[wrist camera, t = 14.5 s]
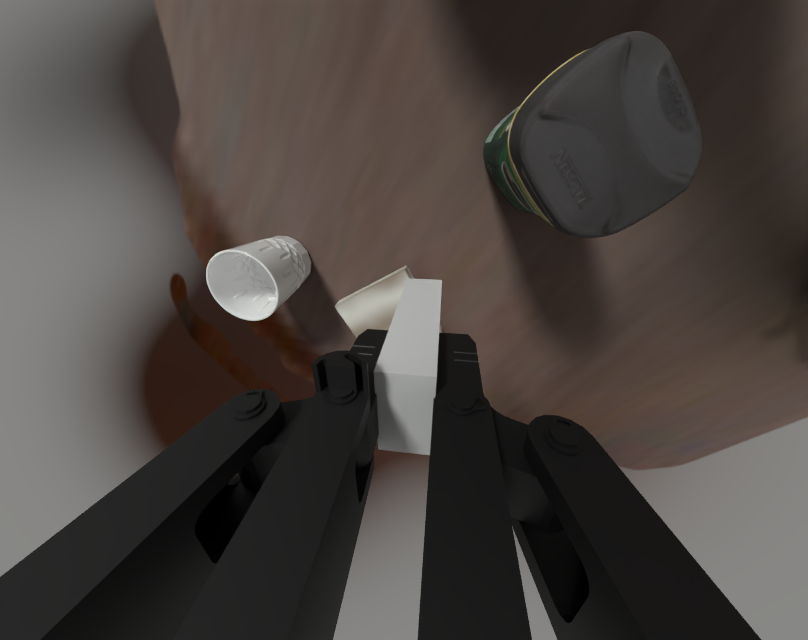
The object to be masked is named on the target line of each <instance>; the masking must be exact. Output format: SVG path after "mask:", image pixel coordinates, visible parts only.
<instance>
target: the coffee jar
mask: <svg viewBox="0 0 808 640" xmlns="http://www.w3.org/2000/svg"><path fill="white" fill-rule="evenodd" d="M702 146H703V141H702V133H701V127H700V125H699V122H698V119H697V116H696V113H695V109H694V106H693V103H692V100H691V97H690V95H689V92H688V89H687V87H686V85H685V82H684V80H683V78H682V76H681V74H680V72H679V70H678V68H677V66H676V64H675V62H674V60H673V58H672V55H671V54H670V52H669V51H668V49H667V47H666V46H665V45H664V44H663V43H662V42H661V40H660V39H658V38H657V37H655V36H654V35H652V34H649V33H646V32H642V31H631V32H626V33H622V34H619V35H616V36H613V37H610V38H608V39H606V40H604V41H602V42H600V43H599V44H597V45H596V46H594V47H592V48H590V49H587V50H585V51H583V52H581V53H579V54H577V55H576V56H574V57H572V58H571V59H569V60H568V61H566V62H565V63H564V64H562V65H561V66H559V67H558V68H557V69H556V70H554V71H553V72H552V73H551V74H550V75H548V76H547V77H546V78H545V79H544V80H543V81H542V82H541V83H540V84H539V85H538V86H537V87H536V88H535V89H534V90H533V91H532V92H531V93H530V94H529V95H528V97H527V98H526V99H525V100H524V101H523V103H522V104H521V105H520V106H518V107H517V108H516V109H514V110H513V111H512V112H510V113H509V114H508V115H507V116H506V117H505V118H503V119H502V120H501V121H500V122H499V123H498V124H497V126H496V127H495V128H494V129H493V130H492V131H491V133H490V134H489V136H488V138H487V140H486V142H485V145H484V152H483V155H484V161H485V164H486V166H487V169H488V171H489V173H490V175H491V177H492V179H493V180H494V182H495V184H496V185H497V187H498V188H499V190H500V191H501V193H502V194H503V195H504V197H505V198H506V199H507V200H508V201H509V202H510V203H511V204H512V205H513V206H514V207H515V208H517V209H519V210H521V211H524V212H529V213H534V214H537V215H539V216H540V217H541V218H543V219H544V220H545V221H547V222H548V223H549V224H550V225H552V226H553V227H554V228H556V229H557V230H559V231H560V232H563V233H565V234H569V235H573V236H577V237H581V238H597V237H603V236H608V235H611V234H614V233H617V232H619V231H621V230H623V229H625V228H627V227H629V226H631V225H633V224H635V223H637V222H638V221H640V220H642V219H644V218H645V217H647V216H649V215H650V214H652V213H653V212H655V211H657V210H658V209H660V208H661V207H663V206H664V205H666V204H667V203H669V202H670V201H671V200H673V199H674V198H675V197H677V196H678V195H679V194H681V193H682V192H683V191H685V190H686V189H687V187H688V186H689V183H690V182H691V180H692V179H693V177H694V175H695V173H696V171H697V169H698V166H699V162H700V159H701V155H702Z"/></svg>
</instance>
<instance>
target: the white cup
mask: <svg viewBox="0 0 808 640" xmlns="http://www.w3.org/2000/svg"><path fill="white" fill-rule="evenodd" d="M310 272H311V260H310V257H309V254H308V251H307V250H306V249H305V248H304V247H303V246H302V244H301V243H300V242H298V241H297V240H295V239H293V238H291V237H289V236H275V237H272V238H269V239H262V240H259V241H255V242H251V243H247V244H244V245H241V246H238V247H234V248H231V249H228V250H224V251H221V252H219V253H217V254H216V255H214V256H213V257H212V258H211V260H210V261H209V263H208V265H207V269H206V279H207V284H208V287H209V289H210V292H211V294H212V295H213V297H214V298H215V300H216V301H217V302H218V303H219V304H220V305H221V306H222V307H223V308H224V309H225V310H226V311H227V312H229V313H231V314H232V315H234V316H236V317H238V318H241V319H244V320H249V321H258V320H262V319H265V318H267V317H269V316H270V315H271V314H272V313H273V312H274V311H275V310H277V309H278V308H279V307H280V306H281V305H282V304H283V303H284V302H285V301H286V300H287V299H288V298H289V297H290V296H291V295H292V294H293V293H294V292H295V291H296V290H297V289H298V288H299V287H300V286H301V284H302V283H303V282H304V281H305V280H306V279H307V277H308V276H309V274H310Z"/></svg>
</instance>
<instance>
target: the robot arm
mask: <svg viewBox="0 0 808 640" xmlns="http://www.w3.org/2000/svg"><path fill="white" fill-rule="evenodd" d="M441 287H442V280H430V279H409V278H407V281H406V283H405V286H404V289H403V292H402V294H401V297H400V300H399V303H398V305H397V308H396V311H395V314H394V317H393V319H392V322H391V325H390V328H389V330H378V329H367V330H365V331H364V332H363V333H361V334H360V335H358V337H357V339H356V341H355V342H354V344H353V346H352V348H351V350H350V351H335V352H331V353H327V354H325V355H323V356H321V357H319V358H317V359H316V360H315V361H314V362H313V363H312V364H311V365H312V370H313V376H314V381H315V387H316V393H315V395H314V397H312V398H308V399H303V400H296V401H290V402H283V403H281V401H280V398H279V396H278V394H277V393H275V392H273V391H272V390H267V389H255V390H249V391H247V392H244V393H241V394H239V395H237V396H235V397H233V398H232V399H230V400H228V401H227V402H226V403H225V404H223V405H222V406H221V407H219V408H218V409H217V410H216V411H214V412H213V413H212V414H210V415H209V416H208V417H206V418H205V419H204V420H203V421H201V422H200V423H199V424H197V425H196V426H195V427H194V428H192V429H191V430H190V431H188V432H187V433H186V434H185V435H183V436H182V437H181V438H179V439H178V440H177V441H175V442H174V443H173V444H172V445H170V446H169V447H168V448H166V449H165V450H164V451H162V452H161V453H160V454H159V455H157V456H156V457H155V458H154V459H152V460H151V461H150V462H148V463H147V464H146V465H144V466H143V467H142V468H141V469H139V470H138V471H137V472H136V473H134V474H133V475H131V476H130V477H129V478H128V479H126V480H125V481H124V482H122V483H121V484H120V485H119V486H117V487H116V488H115V489H114V490H112V491H111V492H109V493H108V494H107V495H106V496H104V497H103V498H102V499H100V500H99V501H98V502H97V503H95V504H94V505H93V506H91V507H90V508H89V509H88V510H86V511H85V512H84V513H82V514H81V515H80V516H78V517H77V518H76V519H75V520H73V521H72V522H71V523H69V524H68V525H67V526H66V527H64V528H63V529H62V530H60V531H59V532H58V533H56V534H55V535H54V536H53V537H51V538H50V539H49V540H48V541H46V542H45V543H44V544H42V545H41V546H40V547H38V548H37V549H36V550H34V551H33V552H32V553H31V554H29V555H28V556H27V557H25V558H24V559H23V560H22V561H20V562H19V563H18V564H16V565H15V566H14V567H13V568H11V569H10V570H9V571H8V572H6V573H5V574H4V575H2V576H1V577H0V640H333V637H334V632H335V628H336V624H337V620H338V616H339V612H340V608H341V604H342V599H343V595H344V591H345V587H346V583H347V579H348V574H349V570H350V566H351V562H352V558H353V553H354V549H355V545H356V541H357V537H358V533H359V528H360V525H361V520H362V516H363V512H364V507H365V504H366V500H367V496H368V491H369V487H370V483H371V479H372V475H373V470H374V450H375V446H376V442H377V439H378V449H381V450H389V451H398V452H406V453H415V454H424V455H430V462H429V476H428V491H427V506H426V521H425V537H424V552H423V567H422V582H421V598H420V613H419V629H418V640H532V637H531V632H530V626H529V620H528V615H527V609H526V603H525V598H524V592H523V586H522V580H521V575H520V569H519V564H518V557H517V552H516V546H515V540H514V535H513V529H514V531H515V534H516V536H517V539H518V541H519V544H520V546H521V549H522V551H523V554H524V556H525V559H526V562H527V564H528V567H529V569H530V572H531V574H532V576H533V579H534V582H535V584H536V587H537V589H538V592H539V594H540V597H541V599H542V602H543V604H544V607H545V609H546V611H547V614H548V617H549V619H550V622H551V624H552V627H553V629H554V632H555V634H556V637H557V640H761V639H760V638H759V636H758V635H757V634H756V633H755V632H754V631H753V629H752V628H751V627H750V626H749V624H748V623H747V622H746V621H745V620H744V618H743V617H742V616H741V615H740V613H739V612H738V611H737V610H736V609H735V607H734V606H733V605H732V604H731V603H730V602H729V600H728V599H727V598H726V597H725V595H724V594H723V593H722V592H721V591H720V589H719V588H718V587H717V586H716V585H715V583H714V582H713V581H712V580H711V578H710V577H709V576H708V575H707V574H706V572H705V571H704V570H703V569H702V568H701V566H700V565H699V564H698V563H697V562H696V560H695V559H694V558H693V557H692V555H691V554H690V553H689V552H688V551H687V549H686V548H685V547H684V546H683V545H682V543H681V542H680V541H679V540H678V538H677V537H676V536H675V535H674V534H673V532H672V531H671V530H670V529H669V528H668V526H667V525H666V524H665V523H664V522H663V520H662V519H661V518H660V517H659V516H658V514H657V513H656V512H655V511H654V510H653V508H652V507H651V506H650V505H649V504H648V502H647V501H646V500H645V499H644V497H643V496H642V495H641V494H640V493H639V491H638V490H637V489H636V488H635V486H634V485H633V484H632V483H631V482H630V481H629V479H628V478H627V477H626V476H625V474H624V473H623V472H622V471H621V470H620V468H619V467H618V466H617V465H616V463H615V462H614V461H613V460H612V459H611V457H610V456H609V455H608V454H607V453H606V451H605V450H604V449H603V448H602V447H601V445H600V444H599V443H598V442H597V441H596V439H595V438H594V437H593V436H592V435H591V434H590V433H589V432H588V431H587V430H586V429H585V428H583V427H582V426H580V425H578V424H577V423H575V422H573V421H572V420H569V419H566V418H563V417H560V416H554V415H543V416H539V417H536V418H535V419H534V420H532V421H531V422H530V423H529V425H527V424H524V423H521V422H518V421H516V420H513V419H510V418H508V417H505V416H503V415H501V414H500V413H498V412H497V411H495V410H494V409H493V408H492V407H491V406H490V404H489V402H488V400H487V399H486V398H485V397H484V394H483V388H482V382H481V376H480V369H479V363H478V356H477V350H476V343H475V342H474V341H473V340H472V339H471V337H470V336H469V335H467V334H452V333H439V325H440V306H441ZM237 473H238V474H237ZM236 474H237V475H236ZM235 475H236V476H235ZM234 476H235V477H234ZM233 477H234V478H233ZM512 526H513V529H512Z"/></svg>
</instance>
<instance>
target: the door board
mask: <svg viewBox="0 0 808 640" xmlns="http://www.w3.org/2000/svg"><path fill="white" fill-rule="evenodd" d="M407 278H409V279H414V277H413V275H412V274H411V272H410V270H409V268H408V266H407V265H406V266H404V267H403V268H401V269H399V270H397V271H395V272H393V273H391V274H389V275H387V276H385V277H383V278H381V279H380V280H378V281H376V282H374V283H372V284H370V285H368V286H366V287H364V288H362V289H360V290H358V291H357V292H355V293H353V294H351V295H349V296H347V297H345V298H343V299H341V300H339V301H338V303H337V304H336V305H335V306H334V307H335V308H336V309H337V311H338V312H339V314H340V315H341V317H342V318H343V319H344V321H345V322H346V324H347V325H348V326H349V328H350V329H351V331H352V332H353V334H354V335H355V336H356V338H357V337H358V335H360V334H361V333H363V332H364V331H365V330H367V329H378V330H389V328H390V325H391V322H392V319H393V317H394V314H395V311H396V308H397V305H398V303H399V300H400V297H401V294H402V292H403V289H404V286H405V283H406V281H407ZM439 333H445V332H444V330H443V328H442V326H441V325H439Z"/></svg>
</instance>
